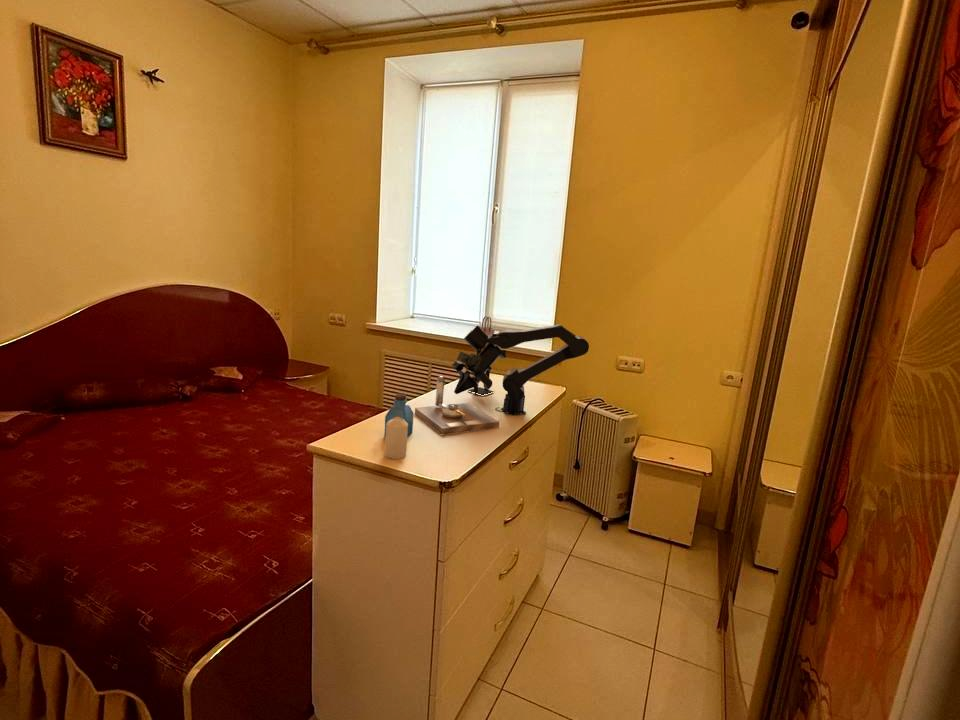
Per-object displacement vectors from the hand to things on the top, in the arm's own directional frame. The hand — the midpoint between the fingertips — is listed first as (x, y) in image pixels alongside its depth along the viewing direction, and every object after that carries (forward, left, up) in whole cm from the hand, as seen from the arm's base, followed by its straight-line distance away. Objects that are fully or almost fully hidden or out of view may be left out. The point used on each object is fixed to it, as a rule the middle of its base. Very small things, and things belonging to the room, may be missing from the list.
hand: (455, 393), depth 165 cm
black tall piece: (-22, -19, -7) cm, 30 cm away
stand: (+3, +7, -7) cm, 10 cm away
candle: (+31, +26, -7) cm, 41 cm away
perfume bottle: (+25, +13, -7) cm, 29 cm away
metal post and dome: (+5, +7, -4) cm, 10 cm away
